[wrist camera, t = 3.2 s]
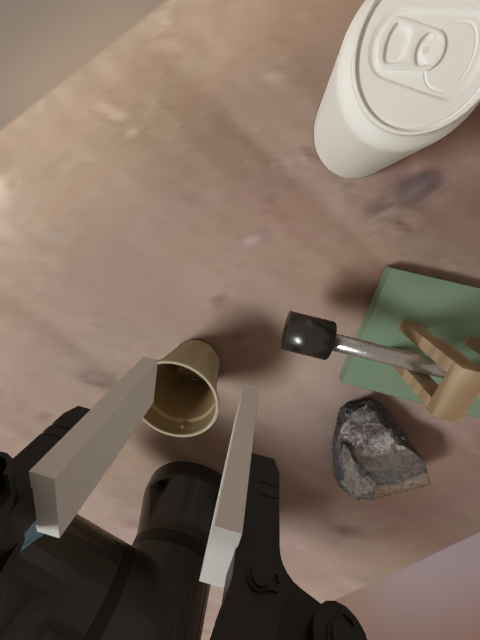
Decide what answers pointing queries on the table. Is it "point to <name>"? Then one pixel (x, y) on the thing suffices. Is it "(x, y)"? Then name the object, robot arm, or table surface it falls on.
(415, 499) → the table surface
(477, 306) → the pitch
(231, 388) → the table surface
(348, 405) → the rock
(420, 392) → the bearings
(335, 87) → the beverage can
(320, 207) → the table surface
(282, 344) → the rod
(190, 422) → the flower pot
